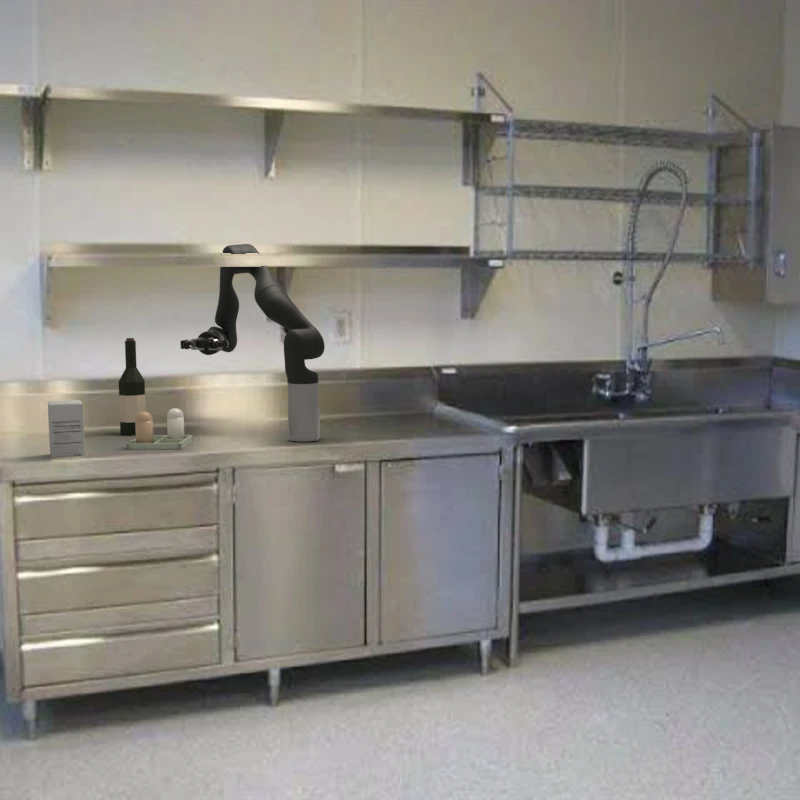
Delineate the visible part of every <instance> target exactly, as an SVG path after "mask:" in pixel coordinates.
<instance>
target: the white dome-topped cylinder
mask: <svg viewBox="0 0 800 800" xmlns="http://www.w3.org/2000/svg"><path fill="white" fill-rule="evenodd" d="M184 416H185V415H184V412H183V411H182V410H181V409H180V408H176V407H175V408H170V409H169V410H168V411H167V414H166V427H167V428H166V429H167V433H166V435H168V439H184V435H185V417H184Z"/></svg>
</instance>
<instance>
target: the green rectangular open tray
mask: <svg viewBox="0 0 800 800" xmlns="http://www.w3.org/2000/svg"><path fill="white" fill-rule="evenodd" d="M193 441H194V434H193V435H192V434H188V435H187V434H184V439H168V435H167V434H166V435H165V434H163V435H162V434H160V435H159V434H153V443H136V437H135V438H134V439H132V440H130V441H128V442H127V443H125V445H126V446H125V448H126V449H125V450H182V449H184V448H185V447H186V446H188V445H190V443H192V442H193Z"/></svg>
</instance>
